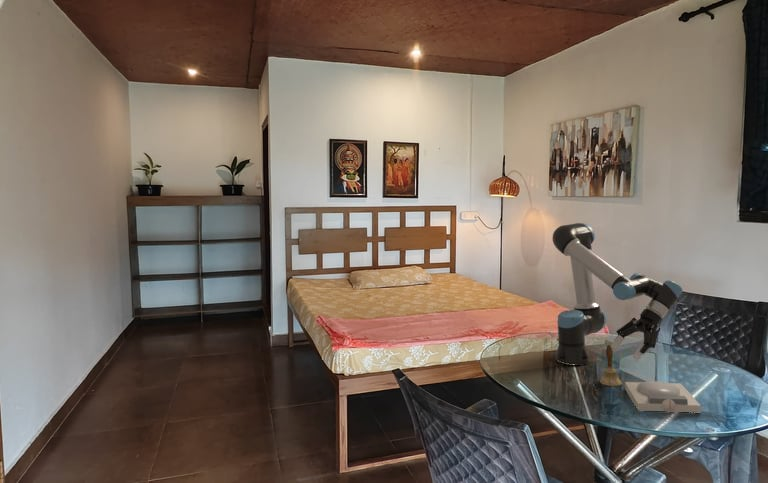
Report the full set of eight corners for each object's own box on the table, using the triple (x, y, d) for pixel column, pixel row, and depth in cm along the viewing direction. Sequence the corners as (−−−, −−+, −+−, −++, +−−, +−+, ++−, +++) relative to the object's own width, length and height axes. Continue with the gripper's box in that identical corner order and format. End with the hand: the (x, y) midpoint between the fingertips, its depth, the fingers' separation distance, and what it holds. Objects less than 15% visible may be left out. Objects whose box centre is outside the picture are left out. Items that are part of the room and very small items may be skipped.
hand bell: (616, 388, 195) (614, 349, 193) (596, 382, 201) (594, 345, 200) (625, 382, 200) (624, 344, 198) (605, 377, 206) (604, 341, 205)
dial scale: (638, 411, 173) (637, 398, 172) (625, 389, 193) (624, 377, 192) (701, 414, 168) (700, 400, 167) (681, 390, 187) (680, 378, 187)
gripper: (683, 326, 189) (651, 368, 187) (638, 312, 213) (609, 350, 212) (671, 314, 187) (639, 357, 186) (627, 302, 212) (598, 340, 210)
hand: (623, 353), depth 199 cm, fingers open, 13 cm apart
